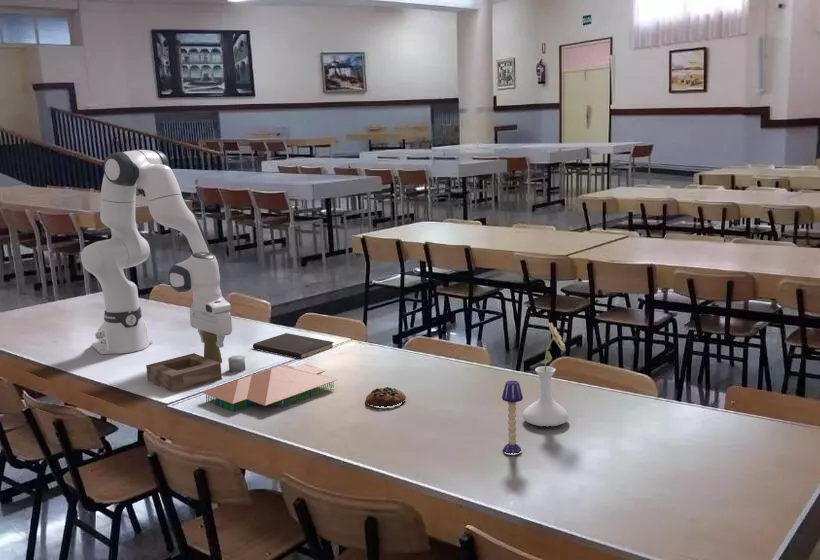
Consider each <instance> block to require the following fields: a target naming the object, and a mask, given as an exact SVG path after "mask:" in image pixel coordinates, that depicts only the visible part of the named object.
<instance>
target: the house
mask: <svg viewBox="0 0 820 560" xmlns="http://www.w3.org/2000/svg"><path fill="white" fill-rule="evenodd" d="M324 372H327V369H323V368H320V367H316V366H312V365H309V364H301V365H298V366H292V365H287V364H286V365H278V366H275V367H272V368H269V369H266V370H264V371H263V370H262V371H261V372H257V373H254V374H251V375H249V376H245V377H243V378H239V379H236V380H233V381H230V382H227V383H224V384H221V385H218V386H215V387H211V388H210V389H206V390H204V391H201V393H202V394H204V395H205V398H206V402H208V403H210V404H212V405H215V406H218V407H220V408H224V407H226V409H227V410H229V411H231V409H233V413H235V412H236V411H235V410H236V408H239V411H240V410H241V404H243V406H244V408H246V406H248V407H250V406H251V407H253V403H255V404H256V405H257V404H258V405H261V406H264V407H266V406H269V405H273V404H276V403H277V405H279V408H282V409H284V404H286V407H288V402H289V405H291V403H290V401H291V402H292V401H293V403H295V400H296V402H297V403H298V401H297V399H301V398H302V401H304V399H306V398H307V397H309V398H310V397H311V398H312V391H314V393H316V395H317V394H319V393H320V392H321V393H323V390H325V389H328V388H329V387H330V389H331V388H332V389H333V388H334V389H335V387H334V386H335V385H334V382H336V381H338V379H336V378H334V377H329V376H326V375H323V373H324ZM320 387H321V389H320ZM322 387H323V388H322ZM327 387H328V388H327ZM315 389H317V390H315ZM321 393H320V394H321ZM301 394H302V395H301ZM303 394H304V395H303ZM293 397H295V398H293ZM287 399H288V400H287ZM283 400H284V402H283ZM306 400H307V399H306ZM239 403H241V404H239ZM220 404H221V405H220ZM235 405H236V406H235ZM244 408H243V409H244Z"/></svg>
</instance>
